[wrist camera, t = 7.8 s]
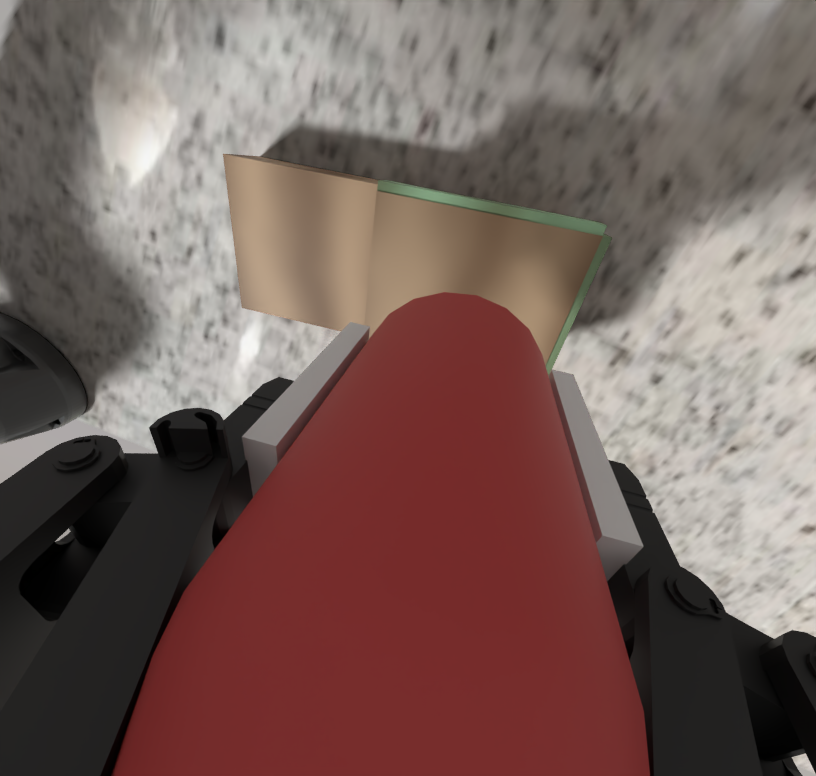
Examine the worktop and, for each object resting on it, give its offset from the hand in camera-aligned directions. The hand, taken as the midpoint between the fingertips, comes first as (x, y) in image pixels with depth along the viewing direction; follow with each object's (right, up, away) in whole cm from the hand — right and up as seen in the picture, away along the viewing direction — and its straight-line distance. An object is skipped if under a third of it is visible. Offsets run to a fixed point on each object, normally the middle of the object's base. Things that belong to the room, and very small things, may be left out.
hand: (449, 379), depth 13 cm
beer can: (0, 0, +1) cm, 1 cm away
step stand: (-2, +9, +13) cm, 17 cm away
